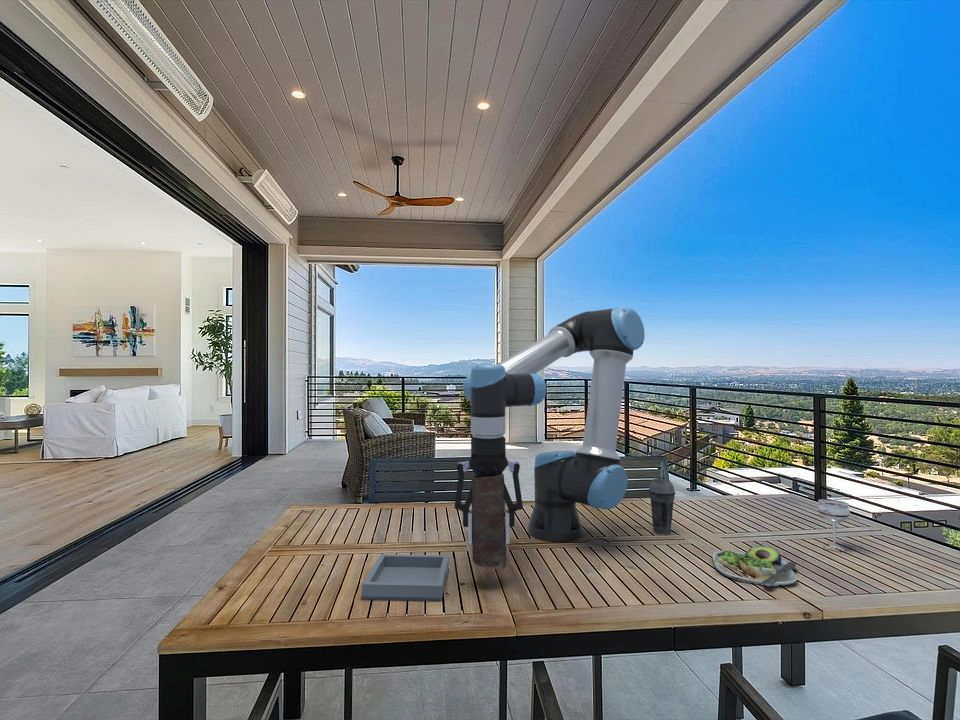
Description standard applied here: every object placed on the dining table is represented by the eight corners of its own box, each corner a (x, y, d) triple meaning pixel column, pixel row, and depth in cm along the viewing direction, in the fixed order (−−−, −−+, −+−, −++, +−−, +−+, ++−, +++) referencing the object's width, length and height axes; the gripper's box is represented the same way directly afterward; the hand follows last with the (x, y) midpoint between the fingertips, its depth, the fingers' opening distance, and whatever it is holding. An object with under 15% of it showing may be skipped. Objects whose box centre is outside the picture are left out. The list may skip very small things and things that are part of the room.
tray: (448, 568, 110) (449, 555, 111) (441, 601, 94) (441, 585, 95) (380, 567, 111) (380, 554, 111) (361, 599, 95) (362, 584, 95)
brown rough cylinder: (481, 575, 98) (480, 478, 98) (465, 562, 104) (465, 471, 105) (512, 568, 101) (512, 474, 102) (496, 556, 108) (495, 467, 108)
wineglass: (852, 548, 125) (851, 502, 125) (849, 555, 120) (848, 507, 120) (820, 542, 130) (819, 497, 130) (816, 548, 125) (815, 502, 125)
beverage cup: (648, 534, 135) (647, 463, 136) (649, 526, 142) (648, 459, 142) (675, 537, 132) (675, 465, 133) (675, 530, 139) (675, 461, 140)
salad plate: (813, 601, 96) (813, 578, 96) (715, 585, 103) (715, 563, 103) (793, 566, 114) (792, 546, 114) (710, 554, 121) (710, 536, 121)
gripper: (533, 433, 107) (534, 535, 106) (443, 433, 107) (444, 535, 107) (536, 438, 99) (537, 548, 99) (439, 438, 100) (440, 548, 99)
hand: (488, 541), depth 103 cm, fingers closed on brown rough cylinder, 7 cm apart
